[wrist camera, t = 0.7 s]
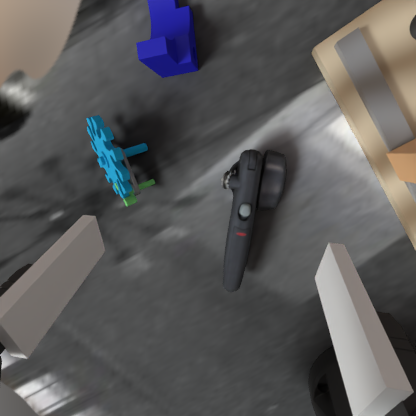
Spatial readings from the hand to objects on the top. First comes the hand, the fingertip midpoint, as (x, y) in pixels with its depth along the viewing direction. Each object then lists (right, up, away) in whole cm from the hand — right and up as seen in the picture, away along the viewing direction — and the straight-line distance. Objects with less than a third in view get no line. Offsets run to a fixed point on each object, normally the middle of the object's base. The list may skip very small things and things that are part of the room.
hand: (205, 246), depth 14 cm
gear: (-11, +9, +19) cm, 23 cm away
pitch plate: (+23, +9, +11) cm, 27 cm away
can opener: (+5, +1, +17) cm, 18 cm away
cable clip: (-4, +24, +14) cm, 28 cm away
